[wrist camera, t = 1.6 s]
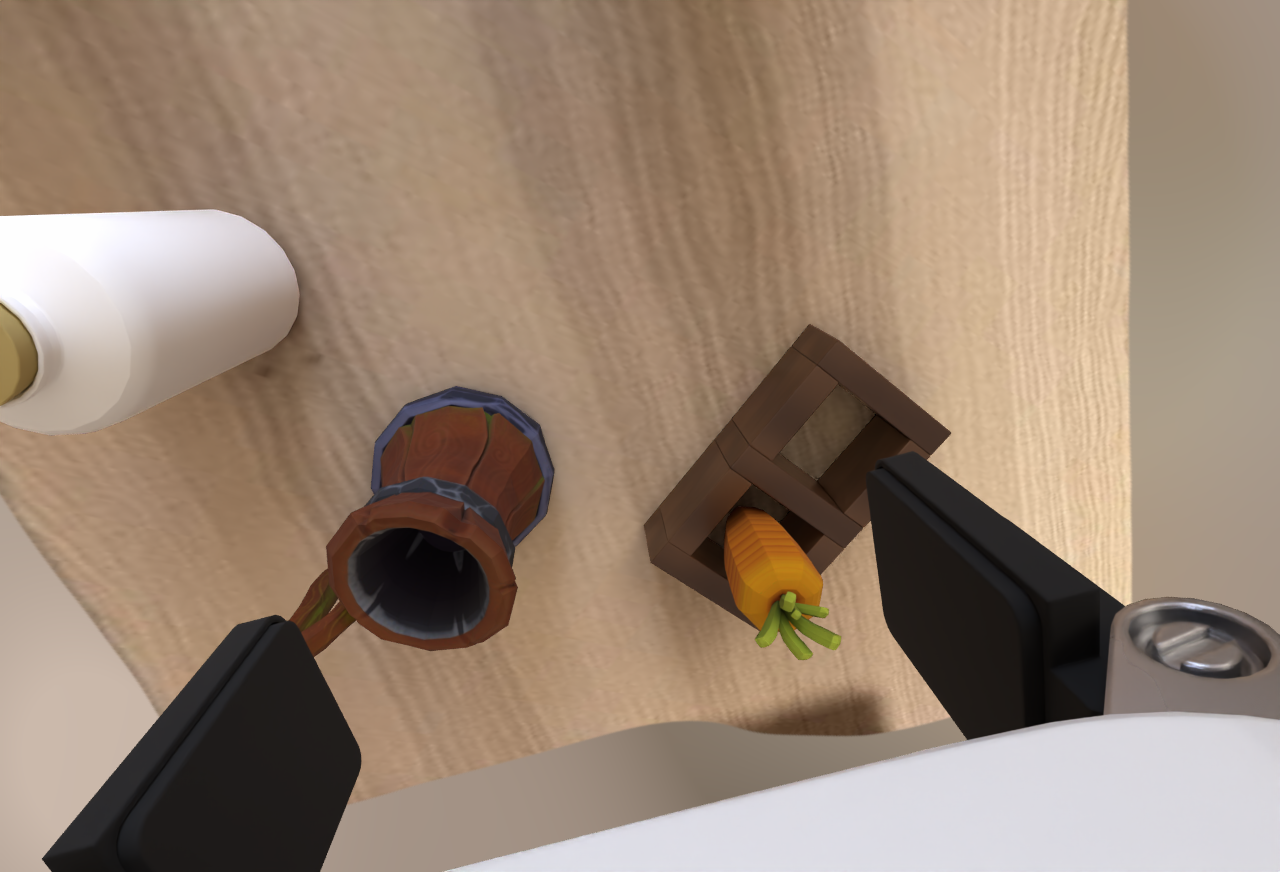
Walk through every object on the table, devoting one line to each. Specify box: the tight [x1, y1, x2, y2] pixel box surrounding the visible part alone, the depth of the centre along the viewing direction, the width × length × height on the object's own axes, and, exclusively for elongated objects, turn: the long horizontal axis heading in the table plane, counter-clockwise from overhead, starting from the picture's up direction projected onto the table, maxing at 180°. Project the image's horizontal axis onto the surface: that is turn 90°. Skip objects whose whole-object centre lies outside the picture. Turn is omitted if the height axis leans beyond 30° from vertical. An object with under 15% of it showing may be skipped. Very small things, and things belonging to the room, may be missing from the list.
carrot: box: [724, 507, 841, 660], centre depth 39 cm, size 5×5×15 cm
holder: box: [644, 324, 951, 631], centre depth 42 cm, size 17×10×5 cm, turn 143°
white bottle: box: [0, 209, 300, 436], centre depth 30 cm, size 8×8×18 cm
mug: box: [289, 386, 554, 657], centre depth 36 cm, size 18×12×15 cm, turn 122°
